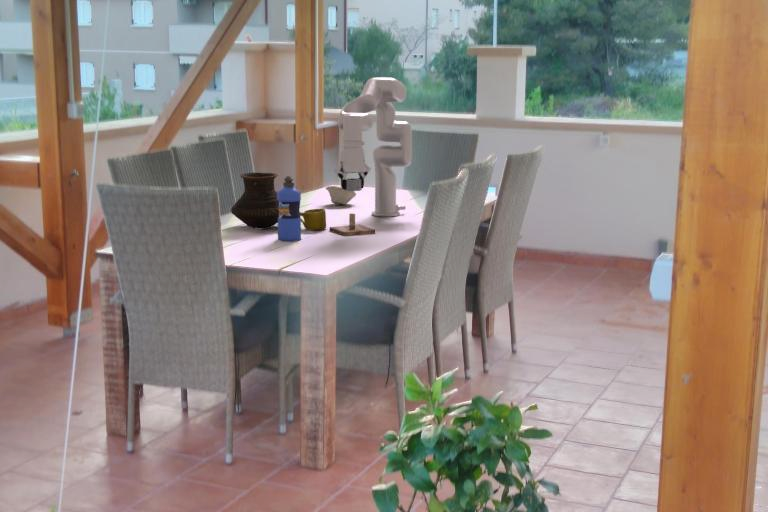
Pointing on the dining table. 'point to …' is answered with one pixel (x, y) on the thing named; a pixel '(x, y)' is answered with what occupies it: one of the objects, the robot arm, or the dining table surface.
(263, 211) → the ceramic pot
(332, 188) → the bowl
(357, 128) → the robot arm
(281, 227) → the water bottle
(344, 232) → the post block
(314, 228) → the mug
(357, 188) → the collar
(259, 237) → the dining table surface
